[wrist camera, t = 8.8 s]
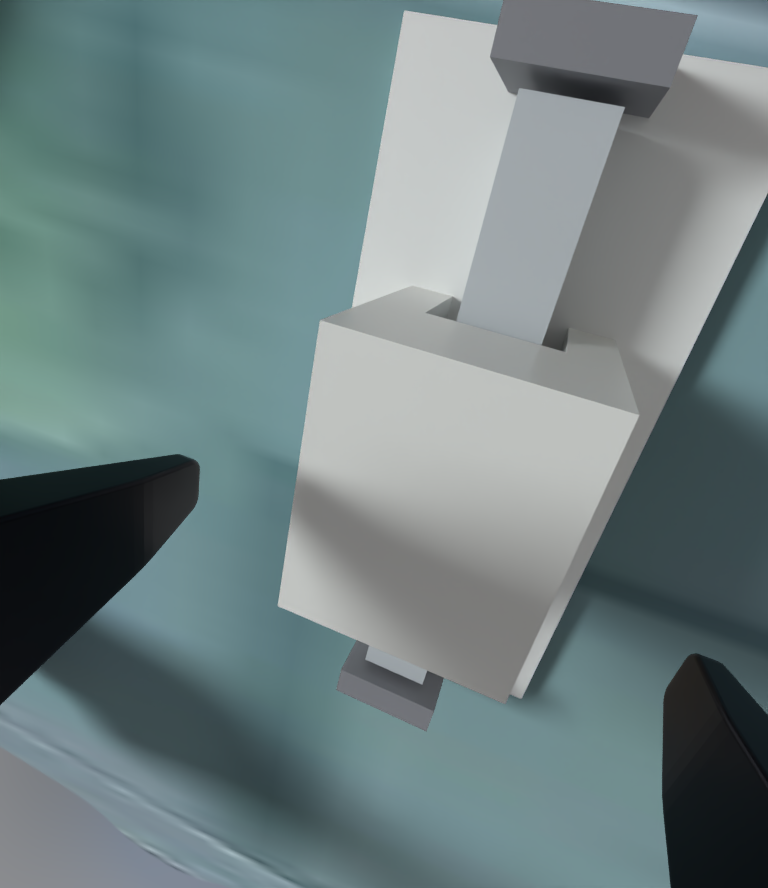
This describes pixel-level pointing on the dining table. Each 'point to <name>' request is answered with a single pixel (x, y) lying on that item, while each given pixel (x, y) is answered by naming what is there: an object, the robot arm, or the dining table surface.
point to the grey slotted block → (448, 483)
